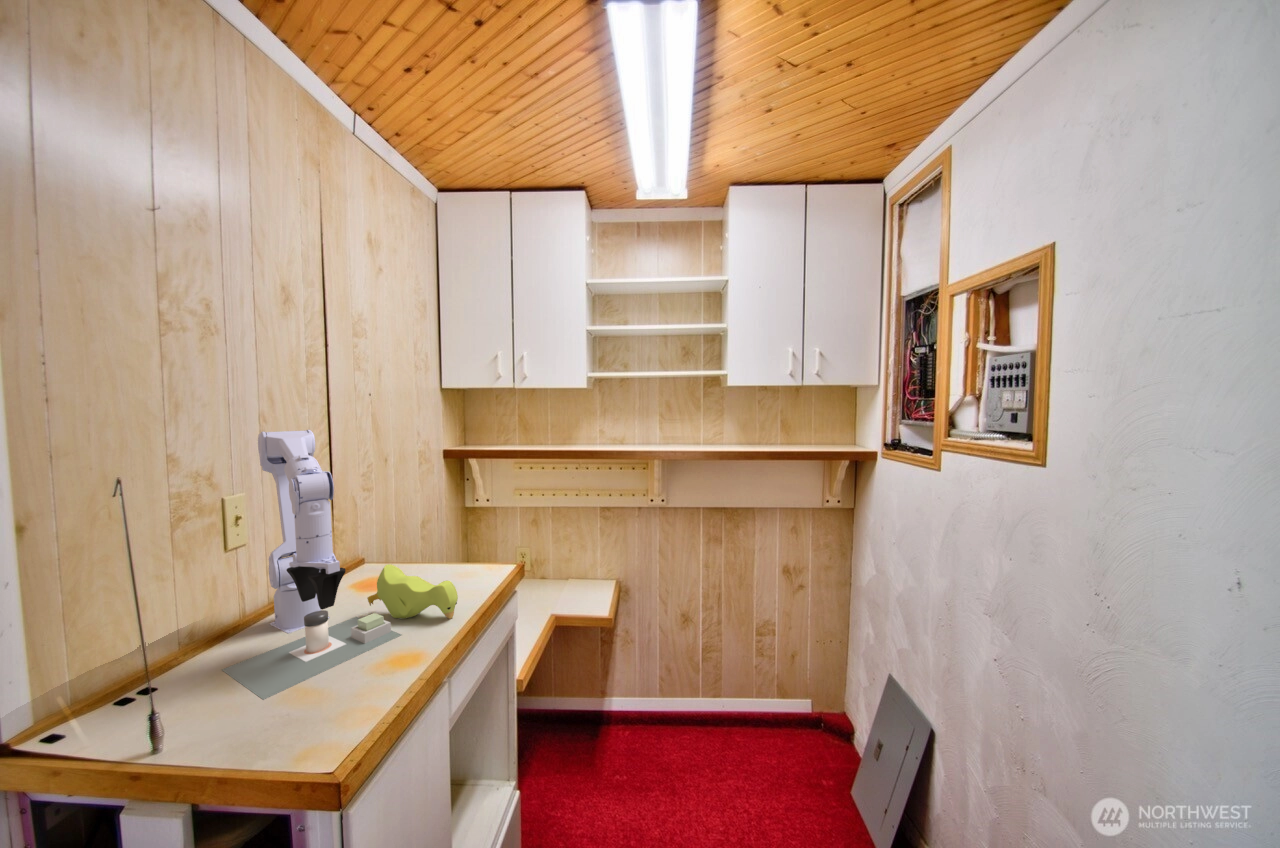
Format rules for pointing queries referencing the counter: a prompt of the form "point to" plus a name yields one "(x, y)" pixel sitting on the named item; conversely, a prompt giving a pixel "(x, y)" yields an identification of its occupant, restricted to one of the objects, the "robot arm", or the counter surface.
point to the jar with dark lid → (316, 631)
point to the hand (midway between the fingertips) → (317, 603)
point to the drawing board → (306, 658)
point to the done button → (370, 622)
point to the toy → (412, 594)
